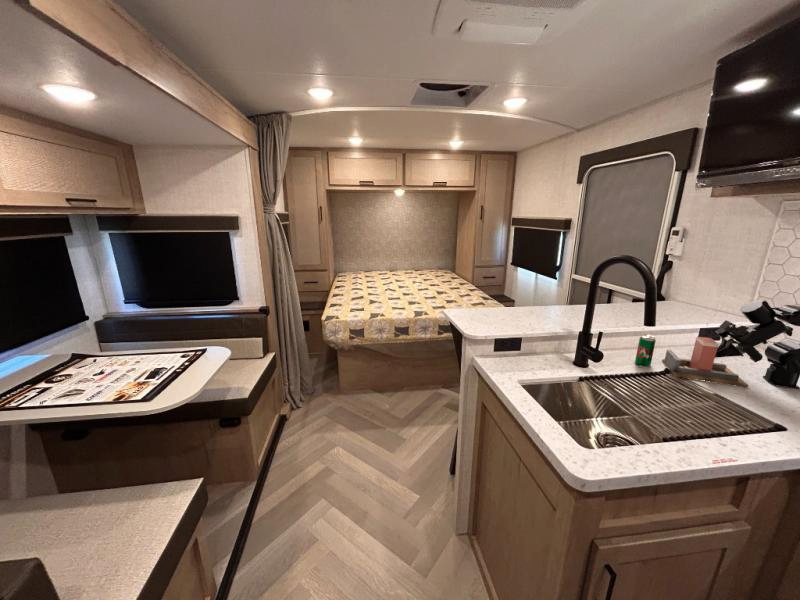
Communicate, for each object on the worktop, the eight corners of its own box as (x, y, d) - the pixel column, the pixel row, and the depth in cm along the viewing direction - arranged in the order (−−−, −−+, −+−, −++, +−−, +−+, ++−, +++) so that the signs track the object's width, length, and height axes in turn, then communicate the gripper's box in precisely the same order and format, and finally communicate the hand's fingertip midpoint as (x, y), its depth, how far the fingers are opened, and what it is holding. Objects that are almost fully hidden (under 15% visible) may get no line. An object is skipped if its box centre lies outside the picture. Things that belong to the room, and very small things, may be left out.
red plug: (702, 367, 120) (710, 338, 117) (710, 374, 114) (718, 344, 111) (689, 365, 121) (696, 336, 118) (696, 372, 116) (703, 342, 113)
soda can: (645, 361, 128) (650, 334, 125) (653, 367, 123) (659, 339, 120) (631, 361, 128) (637, 333, 125) (639, 366, 124) (645, 338, 120)
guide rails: (723, 368, 119) (726, 356, 118) (737, 381, 110) (741, 368, 109) (664, 361, 126) (666, 349, 125) (673, 372, 117) (676, 359, 116)
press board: (726, 369, 120) (727, 367, 120) (747, 387, 108) (748, 385, 108) (662, 361, 128) (662, 358, 128) (675, 377, 116) (675, 374, 115)
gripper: (728, 307, 117) (684, 331, 124) (760, 323, 101) (707, 349, 108) (751, 330, 116) (705, 352, 123) (786, 349, 100) (731, 374, 107)
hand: (711, 356), depth 115 cm, fingers closed, pressing on red plug
